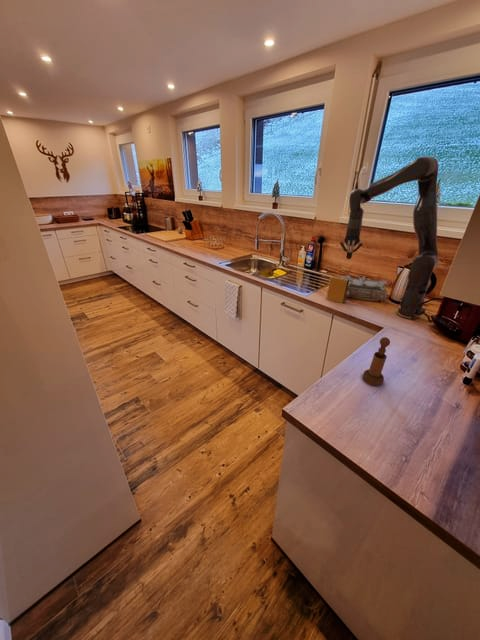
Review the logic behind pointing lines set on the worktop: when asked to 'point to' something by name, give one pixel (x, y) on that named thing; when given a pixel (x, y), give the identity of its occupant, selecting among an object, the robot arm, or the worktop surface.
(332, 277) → the tan upright box
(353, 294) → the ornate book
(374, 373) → the brown knobbed pedestal
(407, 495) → the worktop surface
